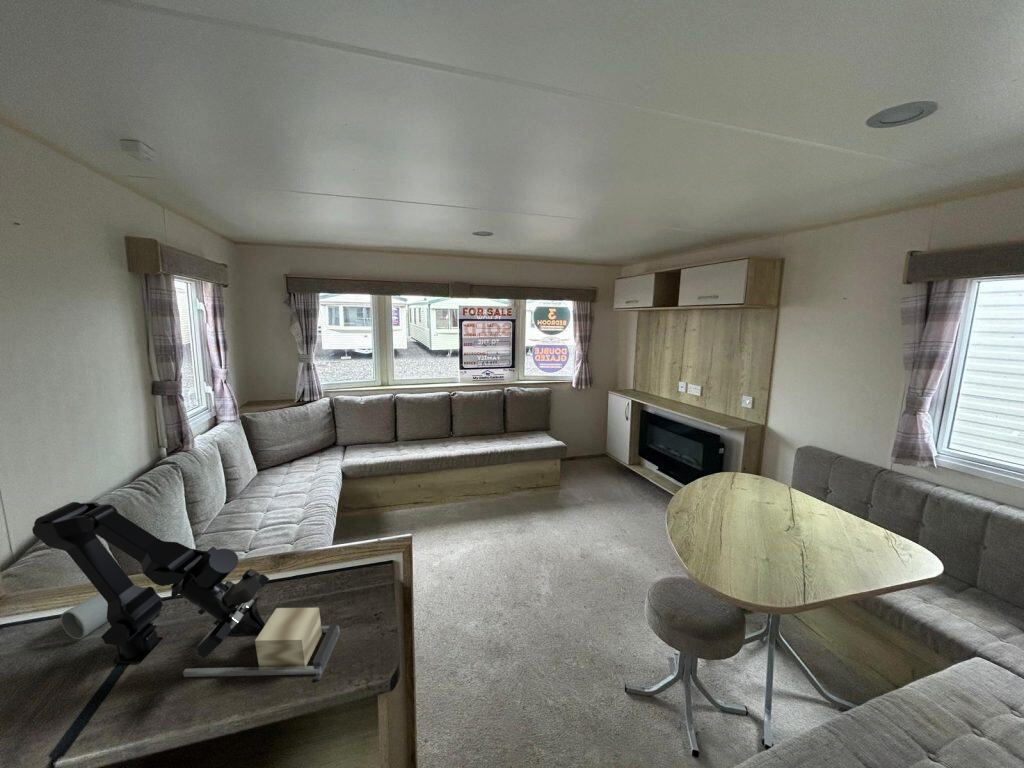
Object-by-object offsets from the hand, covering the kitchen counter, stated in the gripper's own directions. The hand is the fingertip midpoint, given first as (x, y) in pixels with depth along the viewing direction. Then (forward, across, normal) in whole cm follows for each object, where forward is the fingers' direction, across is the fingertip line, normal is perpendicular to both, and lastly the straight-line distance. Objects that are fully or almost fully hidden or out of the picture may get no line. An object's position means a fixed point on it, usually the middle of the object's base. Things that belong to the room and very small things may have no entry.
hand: (266, 633), depth 92 cm
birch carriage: (+8, 0, 0) cm, 8 cm away
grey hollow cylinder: (-30, +10, +40) cm, 50 cm away
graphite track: (+4, 0, +5) cm, 7 cm away
